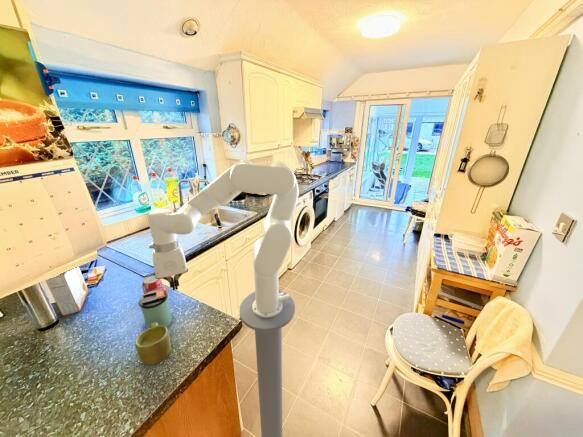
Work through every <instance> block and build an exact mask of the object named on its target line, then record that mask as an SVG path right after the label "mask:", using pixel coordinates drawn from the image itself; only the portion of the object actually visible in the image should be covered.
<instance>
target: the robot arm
mask: <svg viewBox="0 0 583 437" xmlns="http://www.w3.org/2000/svg"><path fill="white" fill-rule="evenodd" d="M242 192H243V193H249V194H261V195H262V194H263V195H273V198H272V201H271V204H270V207H269V209H268V212H267V214H266V217H265V219H264V221H263V225H262V232H263V233H262V234H263V236H260V237H259V238H257V239H256V241H255V242H254V243H253V246H252V265H253V274H254V277H253V278H254V292H255V295H256V300H255V301H254V302H253V305H252V309H253V312H254V313H255V314H256V315H257V316H259V317H263V318H270V317H274V316H276V315H277V314H279V313H280V312H281V310H282V306H283V305H282V302H283V300H287V299H289V296H290V294H288V293H287V295H284V293H283V292H284V291H283V292H282V293H280V294H279V290H280V289H279V288H280V287H279V286H280V285H279V282H280V281H279V279H280V278H279V274H280V271H279V270H280V269H281V267H282V265H283V264H284V261H285V259H286V256H287V254H288V252H289V249H290V248H291V245H292V242H293V231H292V228H291V221H292V218H293V215H294V213H295V210H296V207H297V204H298V201H299V184H298V181H297V177H296V175H295V173H294V171H293V170H292V169H291V168H290V167H289V166H288V164H286V163H284V162H283V161H276V162H273V163H271V165H257V164H254V163H253V162H252V161H251V160H248V159H240V160H238V161H236V162H235V163H233V165H231V166H230V167H228V168H227V169H226V170H225V171H224V172H222V173H221V174H220V175H219V176H217V177H216V178H215V179H214V180H213V181H211V182H210V183H209V184H208V185H206V186H205V187H204V188H202V190H200V191H199V192H198V193H196V194H195V196H193V197H191V199H189V200H188V201H187V202H186V203H185V204H183V205H182V206H181V207H180V208H179V209H178V210H177V211H176V212H174V213H173V211H172V210H170V209H167V208H166V209H165V208H161V209H155V210H152V211H150V212H149V213H148V214H147V221H148V224H149V225H148V227H149V231H150V235H151V239H152V243H151V244H148V248H149V249H153V250H152V265H153V271H154V275H156V279H161V280H162V279H163V280H165V281H167V282H168V283H169V287H170V289H172V291H173V292H174V291H177V290H179V288H178V287H180V281H179V280H180V278H181V276H182V275H183V274H186V273H188V272H189V268H188V266H187V260H186V256H185V252H184V250H183V247H182V245H181V244H180V243H179V238H178V235H189V234H191V233H193V231H195V229H196V227H197V225H198V223H199V221H200V220H201V219H202V218H203V217H204V216H205V215H207V214H208V213H209V212H211V211H212V210H214V209H215V208H217V207H223V206H226V205H227V204H229V203H230V202H231V201H233V200H235V198H236V197H238V196H239V195H240V194H241V193H242ZM283 295H284V296H283Z"/></svg>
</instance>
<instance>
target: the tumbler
mask: <svg viewBox="0 0 583 437" xmlns="http://www.w3.org/2000/svg"><path fill="white" fill-rule="evenodd" d="M160 291H163V290H161V289H158V290H153V291H150V292H148V293H146V294H144V293H143V295H141V296H140V297H139V299H138V305H139V307H140V309H141V312H142V316H143V319H144V323H145V327H146V330H147V329H149V328H151V327H150V326H151V324H152V323H155V322H157V323H158V325H162V326H165V327H166V328H168V327H169V326H170V325H171V323H172V322H173V317H172V316H173V315H172V312H171V307H170V302H169V298H168V297H169V296H168V293H167V296H164V297H160V298H157V299H156V292H160Z"/></svg>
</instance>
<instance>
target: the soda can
mask: <svg viewBox="0 0 583 437" xmlns="http://www.w3.org/2000/svg"><path fill="white" fill-rule="evenodd" d="M141 287H142V291H143V295H144V294H146V293H148V292H150V291H153V290H158V289H161V290H163V287H164V285H163V282H162V279H156V275H155V274H150V275H148V276H146V277H143V279H142V284H141Z"/></svg>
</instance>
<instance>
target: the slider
mask: <svg viewBox="0 0 583 437" xmlns="http://www.w3.org/2000/svg"><path fill="white" fill-rule="evenodd" d="M167 294H168V290H167V286H164V285H163V291H160V292H156V299H157V298H160V297H164V296H167Z"/></svg>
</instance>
